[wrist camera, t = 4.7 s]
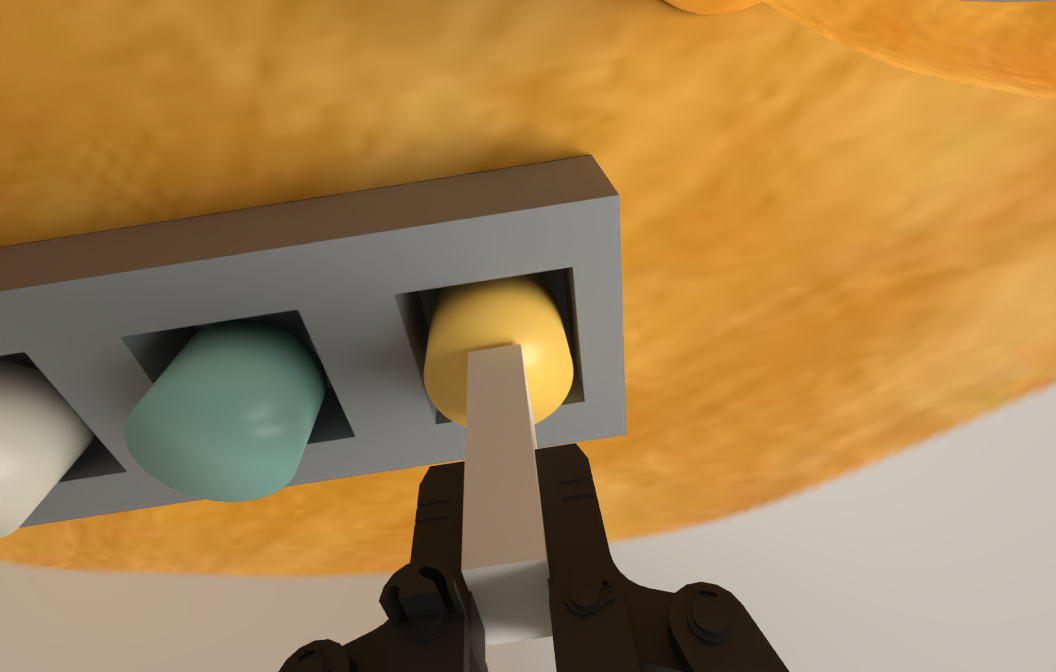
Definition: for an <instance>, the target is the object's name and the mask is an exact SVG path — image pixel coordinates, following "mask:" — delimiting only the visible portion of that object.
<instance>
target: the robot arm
mask: <svg viewBox="0 0 1056 672" xmlns="http://www.w3.org/2000/svg"><path fill="white" fill-rule="evenodd" d="M417 507H418V508H417V510H416V519H415V522H416V525H415V527H414V535H413V543H412V552H411V560H410V563H409V564H406V565H405V566H404V567H402V568H401V569H399V570H398V571H397V572H395V573H394V574H393V575H392V577H391V578H390V579H389V581H388V582H387V583H386V584H385V586H384V588H383V591H382V594H381V596H380V600H379V602H380V604H381V606H382V607H383V609H384V611H385V613H386V615H387V616H388V618H389V619H388V620H387V621H386V622H385V623H384V624H383V625H381V626H379V627H378V628H376V629H375V630H373V631H371V632H369V633H367V634H366V635H363V636H361V637H359V638H357V639H355V640H353V641H351V642H349V643H347V644H345V645H343V646H341V644H340V643H337V642H334V641H332V640H329V639H326V640H316V641H313V642H311V643H309V644H307V645H305V646H303V647H301V648H299V649H298V650H297V651H296V652H295V653H294V654H292V655H291V656H290V657H289V658H288V659H287V660H286V661H285V663H284V664H283V666H282V667H281V669H280V671H279V672H488V668H487V664H486V662H485V638H486V640H487V643H488V645H495V644H502V643H509V642H516V641H521V640H529V639H535V638H542V637H549V636H553V642H554V652H555V661H556V669H557V672H789V670H788V669H787V668H786V666H785V665H784V663H783V662H782V660H781V659H780V658H779V656H778V655H777V653H776V652H775V651H774V649H773V648H772V646H771V645H770V643H769V642H768V640H767V639H766V637H765V636H764V635H763V633H762V632H761V630H760V629H759V628H758V626H757V625H756V623H755V622H754V620H753V619H752V618H751V616H750V615H749V613H748V612H747V610H746V609H745V607H744V606H743V605H742V604H741V603H740V601H738V599H737V598H735V596H734V595H733V594H732V593H731V592H729V591H727V590H725V589H723V588H722V587H720V586H718V585H715V584H710V583H705V582H697V583H693V584H687V585H685V586H684V587H683V588H681V589H680V590H679V591H677V592H676V593H672V592H666V591H661V590H656V589H650V588H647V587H643V586H640V585H638V584H636V583H634V582H632V581H631V580H628V579H627V578H626V577H625V576H624V575H623V574H622V573H621V572H620V571H619V570H618V568H617V567H616V565H615V564H614V562H613V560H612V557H611V554H610V551H609V546H608V542H607V538H606V533H605V529H604V525H603V520H602V516H601V512H600V508H599V503H598V499H597V496H596V490H595V486H594V482H593V478H592V473H591V469H590V465H589V460H588V458H587V457H586V455H585V454H584V453H583V452H582V450H581V449H580V448H579V447H578V446H577V444H576V443H574V444H568V445H561V446H554V447H548V448H541V449H537V443H536V435H535V428H534V420H533V413H532V407H531V401H530V395H529V389H528V383H527V377H526V371H525V365H524V360H523V354H522V348H521V344H517V345H511V346H504V347H497V348H491V349H484V350H478V351H471V352H468V372H467V405H466V437H465V461H464V462H457V463H450V464H444V465H437V466H430V468H429V470H428V471H427V473H426V475H425V476H424V478H423V480H422V482H421V483H420V486H419V494H418V502H417Z"/></svg>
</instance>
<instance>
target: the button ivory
mask: <svg viewBox="0 0 1056 672" xmlns="http://www.w3.org/2000/svg"><path fill="white" fill-rule="evenodd" d="M94 436H95V434H94V432H93V431H92V430H91V429H90V428H89V427H88V425H87V424H86V423H85V422H84V421H83V419H82V418H81V417H80V416H79V415H78V414H77V412H76V411H75V410H74V409H73V408H72V407H71V405H70V404H69V403H68V402H67V401H66V400H65V398H64V397H63V396H62V395H61V394H60V393H59V391H58V390H57V389H56V388H55V387H54V386H53V384H52V383H51V382H50V381H49V380H48V379H47V377H46V376H45V375H44V374H43V373H42V372H40V371H38V370H35V369H33V368H30V367H27V366H24V365H21V364H17V363H13V362H8V361H2V360H0V538H1V537H4V536H6V535H9V534H11V533H12V532H14V531H15V530H17V529H18V528H19V527H20V526H21V525H22V523H23V522H24V521H25V520H26V519H27V518H28V516H29V515H30V514H31V513H32V512H33V511H34V509H35V508H36V507H37V506H38V505H39V503H40V502H41V501H42V500H43V499H44V498H45V496H46V495H47V494H48V493H49V492H50V491H51V489H52V488H53V487H54V486H55V485H56V484H57V482H58V481H59V480H60V479H61V478H62V477H63V475H64V474H65V473H66V472H67V471H68V469H69V468H70V467H71V466H72V465H73V464H74V462H75V461H76V460H77V459H78V458H79V457H80V455H81V454H82V453H83V452H84V451H85V450H86V448H87V447H88V446H89V445H90V444H91V442H92V440H93V439H94Z"/></svg>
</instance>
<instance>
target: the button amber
mask: <svg viewBox="0 0 1056 672" xmlns="http://www.w3.org/2000/svg"><path fill="white" fill-rule="evenodd" d="M517 344H521V348H522V354H523V360H524V365H525V371H526V377H527V383H528V389H529V395H530V401H531V407H532V413H533V420H534V424H536V423H538V422H540V421H542V420H543V419H545V418H546V417H548V416H549V415H551V414H552V413H553V412H554V411H555V410H556V409H557V408H558V407H559V406H560V405H561V404H562V402H563V401H564V399H565V398H566V396H567V394H568V392H569V390H570V387H571V384H572V380H573V364H572V359H571V355H570V351H569V347H568V343H567V339H566V335H565V331H564V327H563V323H562V319H561V316H560V312H559V308H558V304H557V301H556V298H555V295H554V293H553V291H552V290H551V288H550V287H549V285H548V284H547V283H546V282H545V281H544V280H543V279H542V278H541V277H540V276H539V275H537V274H536V273H530V274H524V275H517V276H511V277H504V278H498V279H491V280H485V281H478V282H472V283H465V284H459V285H453V286H446V287H442V288H441V289H440V291H439V292H438V294H437V296H436V299H435V301H434V305H433V309H432V316H431V323H430V330H429V338H428V345H427V352H426V359H425V366H424V384H425V389H426V392H427V394H428V396H429V398H430V400H431V402H432V403H433V405H434V406H435V407H436V408H437V409H438V410H439V411H440V412H441V413H442V414H443V415H444V416H445V417H447V418H448V419H450V420H451V421H453V422H455V423H457V424H459V425H461V426H464V427H466V405H467V372H468V352H471V351H478V350H484V349H491V348H497V347H504V346H511V345H517Z"/></svg>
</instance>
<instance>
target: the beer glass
mask: <svg viewBox="0 0 1056 672" xmlns="http://www.w3.org/2000/svg"><path fill="white" fill-rule="evenodd" d="M664 1H665V2H667V3H669V4H670V5H672V6H674V7H676V8H678V9H681V10H684V11H687V12H690V13H695V14H704V15H716V14H726V13H731V12H735V11H739V10H742V9H745V8H749V7H751V6H754V5H756V4H759V3H761V2H765V3H767V4H768V5H770V6H772V7H773V8H775V9H777V10H778V11H780V12H781V13H783V14H785V15H786V16H788V17H790V18H792V19H793V20H795V21H797V22H799V23H801V24H802V25H804V26H806V27H808V28H810V29H811V30H813V31H815V32H817V33H818V34H820V35H822V36H824V37H826V38H828V39H830V40H832V41H834V42H837V43H839V44H841V45H844V46H846V47H849V48H851V49H853V50H856V51H858V52H860V53H863V54H865V55H868V56H870V57H872V58H875V59H877V60H879V61H882V62H884V63H887V64H889V65H892V66H895V67H898V68H902V69H906V70H910V71H914V72H918V73H922V74H926V75H930V76H934V77H938V78H942V79H946V80H950V81H955V82H959V83H963V84H967V85H971V86H975V87H979V88H984V89H989V90H994V91H1001V92H1007V93H1014V94H1020V95H1027V96H1034V97H1040V98H1047V99H1053V100H1056V0H664Z"/></svg>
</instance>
